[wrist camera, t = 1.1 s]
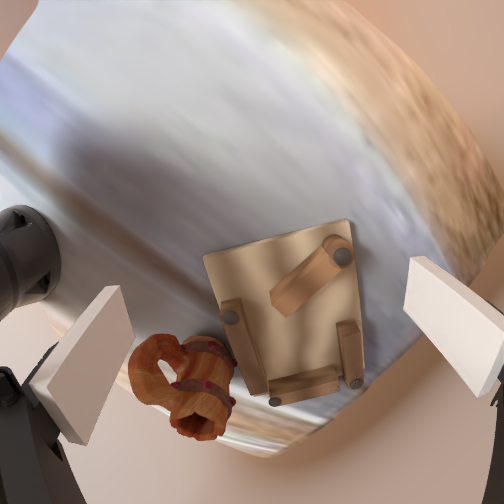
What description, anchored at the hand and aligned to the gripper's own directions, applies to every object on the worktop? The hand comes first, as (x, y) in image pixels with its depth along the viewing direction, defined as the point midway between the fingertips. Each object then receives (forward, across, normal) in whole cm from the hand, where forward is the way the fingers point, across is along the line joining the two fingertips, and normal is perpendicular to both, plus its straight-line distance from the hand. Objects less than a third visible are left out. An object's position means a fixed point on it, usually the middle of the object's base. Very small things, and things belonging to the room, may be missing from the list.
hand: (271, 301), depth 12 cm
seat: (+23, +5, -16) cm, 29 cm away
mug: (+24, -10, -19) cm, 32 cm away
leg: (+22, +6, -8) cm, 24 cm away
